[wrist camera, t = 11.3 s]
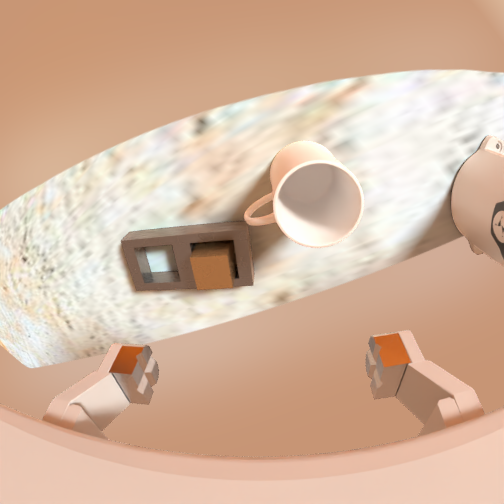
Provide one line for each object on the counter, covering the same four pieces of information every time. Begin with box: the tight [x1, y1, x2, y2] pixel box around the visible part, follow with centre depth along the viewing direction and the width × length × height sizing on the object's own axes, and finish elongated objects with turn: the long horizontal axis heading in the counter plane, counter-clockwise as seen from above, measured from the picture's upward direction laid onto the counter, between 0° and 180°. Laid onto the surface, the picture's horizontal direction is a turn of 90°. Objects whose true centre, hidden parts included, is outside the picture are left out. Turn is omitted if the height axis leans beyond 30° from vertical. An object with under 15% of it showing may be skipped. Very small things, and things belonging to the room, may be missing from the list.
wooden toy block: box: [190, 240, 237, 290], centre depth 39 cm, size 4×4×6 cm
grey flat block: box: [121, 221, 254, 291], centre depth 41 cm, size 17×8×3 cm, turn 96°
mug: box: [244, 141, 364, 248], centre depth 31 cm, size 12×8×12 cm
